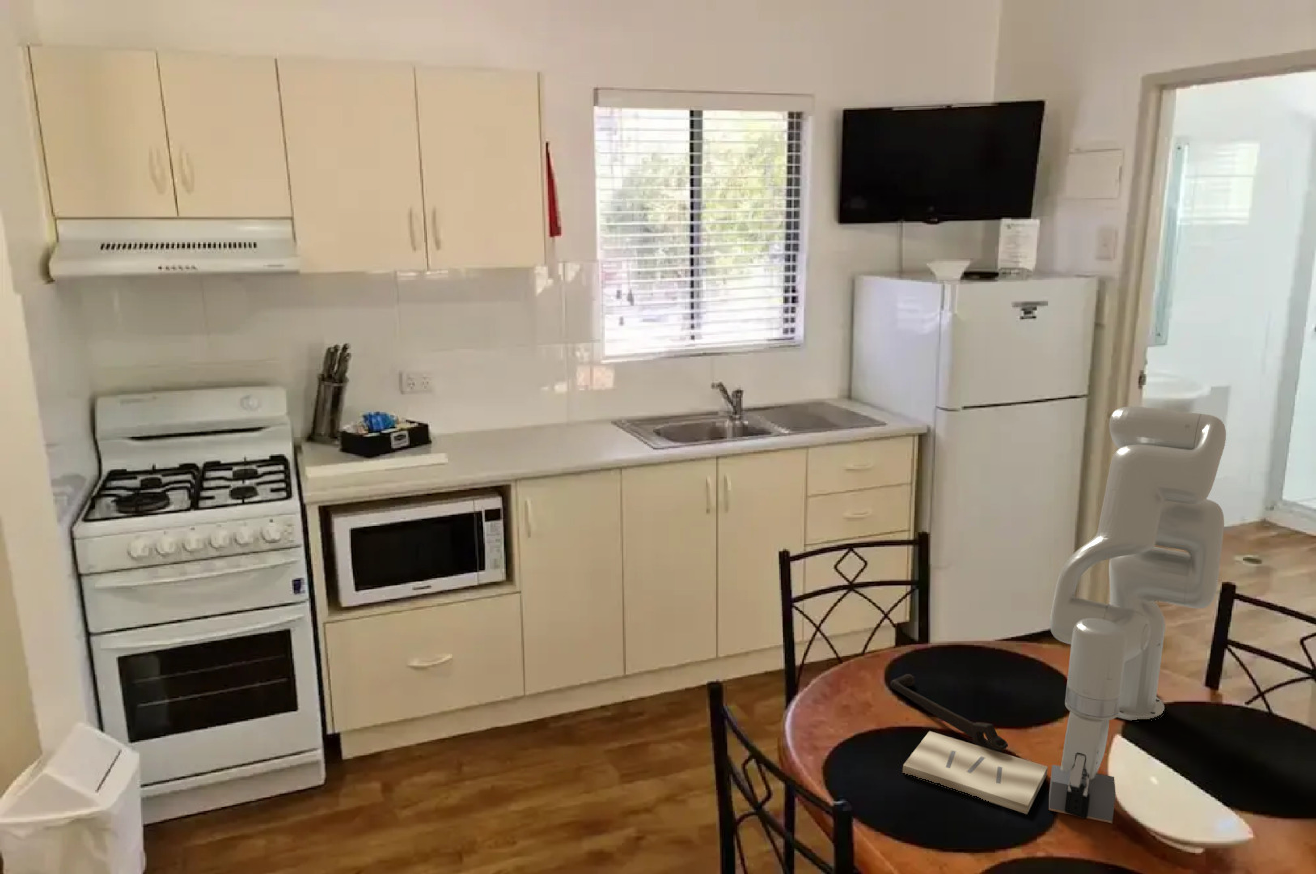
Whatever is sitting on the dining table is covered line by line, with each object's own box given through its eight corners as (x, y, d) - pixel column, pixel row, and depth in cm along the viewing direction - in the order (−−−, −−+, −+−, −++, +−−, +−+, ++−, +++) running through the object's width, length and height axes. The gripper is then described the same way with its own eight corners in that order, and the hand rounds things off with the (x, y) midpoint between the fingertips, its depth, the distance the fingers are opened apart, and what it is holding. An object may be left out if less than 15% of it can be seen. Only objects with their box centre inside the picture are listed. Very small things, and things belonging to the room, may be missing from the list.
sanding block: (1049, 792, 156) (1052, 764, 155) (1110, 805, 153) (1114, 776, 152) (1048, 810, 152) (1051, 781, 151) (1112, 823, 149) (1115, 794, 148)
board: (928, 738, 172) (929, 731, 172) (1046, 774, 161) (1047, 766, 161) (902, 773, 162) (903, 765, 161) (1027, 814, 151) (1027, 805, 151)
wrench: (910, 690, 193) (1021, 755, 166) (889, 696, 191) (998, 763, 164) (909, 665, 192) (1021, 727, 165) (887, 671, 190) (997, 735, 163)
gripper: (1078, 671, 157) (1067, 771, 161) (1053, 716, 143) (1042, 824, 148) (1128, 684, 153) (1116, 786, 157) (1108, 731, 139) (1095, 842, 143)
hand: (1080, 803), depth 152 cm, fingers closed on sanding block, 5 cm apart
